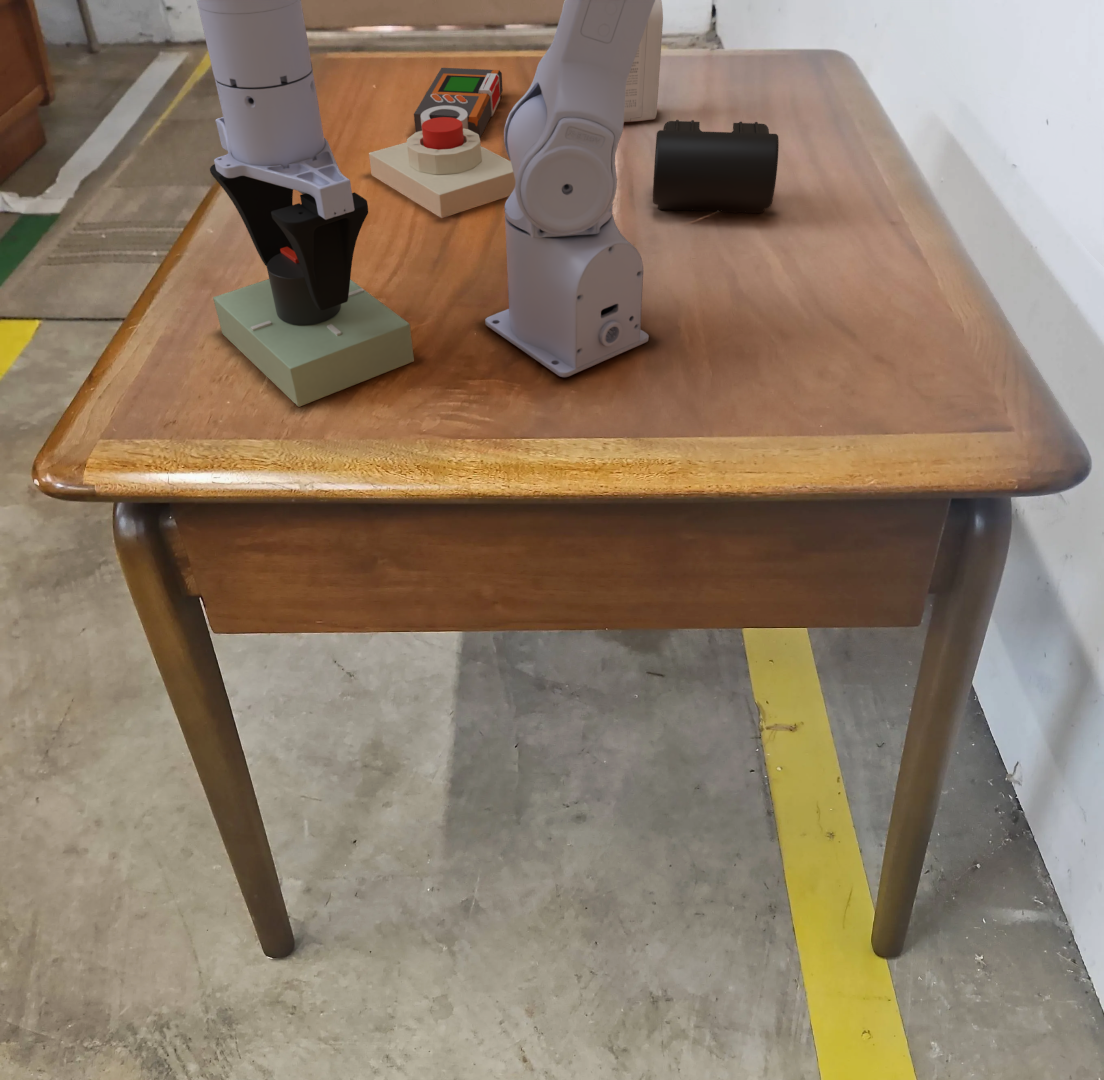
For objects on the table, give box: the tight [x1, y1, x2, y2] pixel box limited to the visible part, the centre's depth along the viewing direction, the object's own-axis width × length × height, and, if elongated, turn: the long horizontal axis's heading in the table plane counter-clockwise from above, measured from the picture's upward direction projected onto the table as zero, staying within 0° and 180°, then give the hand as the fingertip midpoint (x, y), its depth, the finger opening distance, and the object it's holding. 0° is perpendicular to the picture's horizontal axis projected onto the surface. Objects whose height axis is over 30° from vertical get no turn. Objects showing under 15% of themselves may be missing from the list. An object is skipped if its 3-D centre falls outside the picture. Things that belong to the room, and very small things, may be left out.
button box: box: [368, 129, 516, 219], centre depth 92 cm, size 12×9×4 cm
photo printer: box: [561, 0, 664, 123], centre depth 101 cm, size 10×4×12 cm, turn 103°
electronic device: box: [413, 67, 504, 139], centre depth 105 cm, size 7×3×15 cm
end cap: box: [652, 119, 780, 214], centre depth 87 cm, size 10×7×7 cm
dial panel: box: [212, 278, 415, 407], centre depth 72 cm, size 12×9×3 cm
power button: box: [422, 117, 464, 150], centre depth 91 cm, size 4×4×2 cm
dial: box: [266, 247, 341, 325], centre depth 69 cm, size 4×4×4 cm
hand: (305, 282), depth 69 cm, fingers open, 7 cm apart
